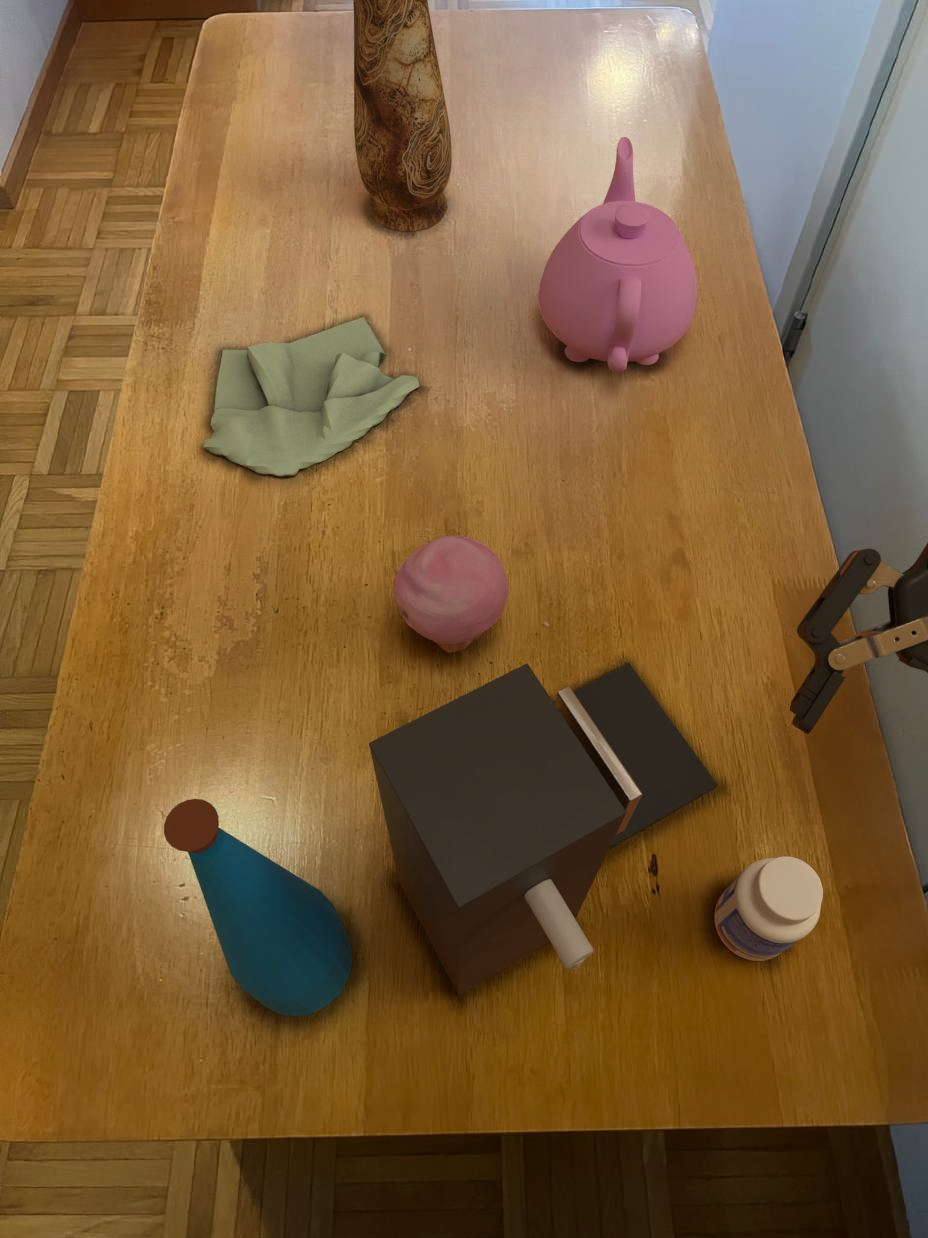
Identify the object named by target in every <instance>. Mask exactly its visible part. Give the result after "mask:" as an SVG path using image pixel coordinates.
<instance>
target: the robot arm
mask: <svg viewBox="0 0 928 1238" xmlns="http://www.w3.org/2000/svg"><path fill="white" fill-rule="evenodd" d="M882 587H886V588H887V600H888V601H887V602H888V611H889V612H888V613H889V614H888V615H889V621H886V622H884V623H881V624H878V625H876V626H874V627H871V628H868V629H866V630H863V631H860V632H858V633H856V634H855V635H852V636H850V637H848V638H845V639H842V640H840V641H838V640H837V639H836V637H835V636H834V635H833V634H832V632H833V631H834V629H835V627H836V626H837V625H838V623H839V622H840V620H841V619H842V618H843V617H844V615H845V613H846V612H847V611H848V610H849V608H850V607H851V605H852V604H853V602H854V601H855V600H856V598H857V597H858V596H859V595H872V594H874V593H876V591H877V590H878V589H880V588H882ZM796 633H797V635H798V637H799V638H800V639H801V640H802V641H803V642H804V643H805V644H806V645H807V646H808V647H809V649H810V650H811V651H812V653H813V654H814V664H813V666H812V667H811V669H810V670H809V672H808V674H807V675H806V677H805V678H804V680H803V682H802V683H801V685H800V686H799V688H798V690H797V691H796V693H795V695H794V696H793V698H792V699H791V701H790V706H789V711H790V712H791V713H792V714H793V715H794V716H793V719H792V721H791V725H792V726H794V727H795V728H797V729H799V731H801V732H804V733H805V734H807V735H808V734H810V733H811V732H812V731H813V729H814V728H815V726H816V725H817V724H818V721H819V720H820V719H821V717H822V715H823V714H824V712H825V710H826V709H827V707H828V706H829V705H830V703H831V701H832V700H833V698H834V696H835V695H836V693H837V692H838V690H839V688H840V687H841V686H842V684H843V682H844V681H845V679H846V676H844V675H842V674H843V673H844V671H845V670H847V669H850V668H852V667H855V666H857V665H860V664H863V663H866V662H869V661H871V660H874V659H879V658H883V657H886V656H889V655H892V654H895V655H896V656H897V658H898V661H899V662H901V663H902V664H904V665H906V666H908V667H910V668H913V669H917V670H920V671H924V672H926V673H927V674H928V542H927V543H926V544H925V546H924V547H923V549H922V551H921V552H920V554H919V556H918V557H917V559H916V560H915V562H914V563H913V565H911V566H910V567H909V568H907V569H906V570H905V571H903V572H900V571H899V570H898V569H896V568H895V567H893V566H891V565H890V564H888V563H886V562H885V561H883V559H882V558H881V554H880V553H879V552H878V551H877V550H876V549H874V548H864V549H859V550H853V551H851V552H850V553H849V554H848V555H847V556H846V558H845V559H844V560H843V562H842V564H841V565H840V566H839V568H838V570H837V571H836V572H835V574H834V575H833V576H832V578H831V580H830V581H829V582H828V583H827V585H826V586H825V587H824V588H823V590H822V592H821V593H820V594H819V596H818V597H817V598H816V600H815V602H814V603H813V604H812V606H811V607H810V608H809V610H808V611H807V613H806V614H805V616H804V617H803V618H802V620H801V621H800V622H799V624H798V625H797V629H796Z"/></svg>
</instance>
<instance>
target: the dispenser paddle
mask: <svg viewBox="0 0 928 1238" xmlns="http://www.w3.org/2000/svg"><path fill="white" fill-rule="evenodd" d="M573 692H574V690H572V689H571V687H570V686H569V685H568V686H566V687H564V688H562V689H559V690H558V691H556V694H555V698H554V701H555V703H554V704H555V705H556V707H557V708H558V710H559V711H560V713H561V714H562V716H563V717H564V719H565V720H566V722H567V723H568V725H569V726H570V728H571V729H572V731H573V732H574V734H575V735H576V737H577V738H578V740H579V741H580V743H581V744H582V746H583V747H584V749H585V750H586V752H587V753H588V755H589V756H590V758H591V759H592V761H593V762H594V764H595V765H596V767H597V768H598V770H599V771H600V773H601V774H602V776H603V777H604V779H605V780H606V782H607V783H608V785H609V786H610V788H611V789H612V791H613V792H614V794H615V795H616V797H617V798H618V800H619V801H620V803H621V804H622V806H623V807H624V809H625V810H626V812H627V813H626V815H625V817H624V819H623V821H622V823H621V825H620V827H619V829H618V831H617V834H619V833H621V832H622V831H624V830H625V828H626V826H627V824H628V822H629V820H630V818H631V816H632V814H633V812H634V810H635V808H636V806H637V804H638V802H639V800H640V798H641V796H642V792H641V791H640V790H639V788H638V787H637V785H636V784H635V782H634V781H633V779H632V778H631V776H630V775H629V773H628V772H627V770H626V769H625V768H624V766H623V765H622V763H621V762H620V760H619V759H618V757H617V756H616V754H615V753H614V751H613V750H612V748H611V747H610V746H609V744H608V743H607V741H606V740H605V738H604V737H603V735H602V734H601V732H600V731H599V729H598V728H597V726H596V725H595V724H594V722H593V721H592V719H591V718H590V716H589V715H588V713H587V712H586V710H585V709H584V707H583V706H582V704H581V703H580V702H579V700H578V699H577V697H576V696H575V694H574V693H573ZM617 834H616V835H617Z"/></svg>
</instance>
